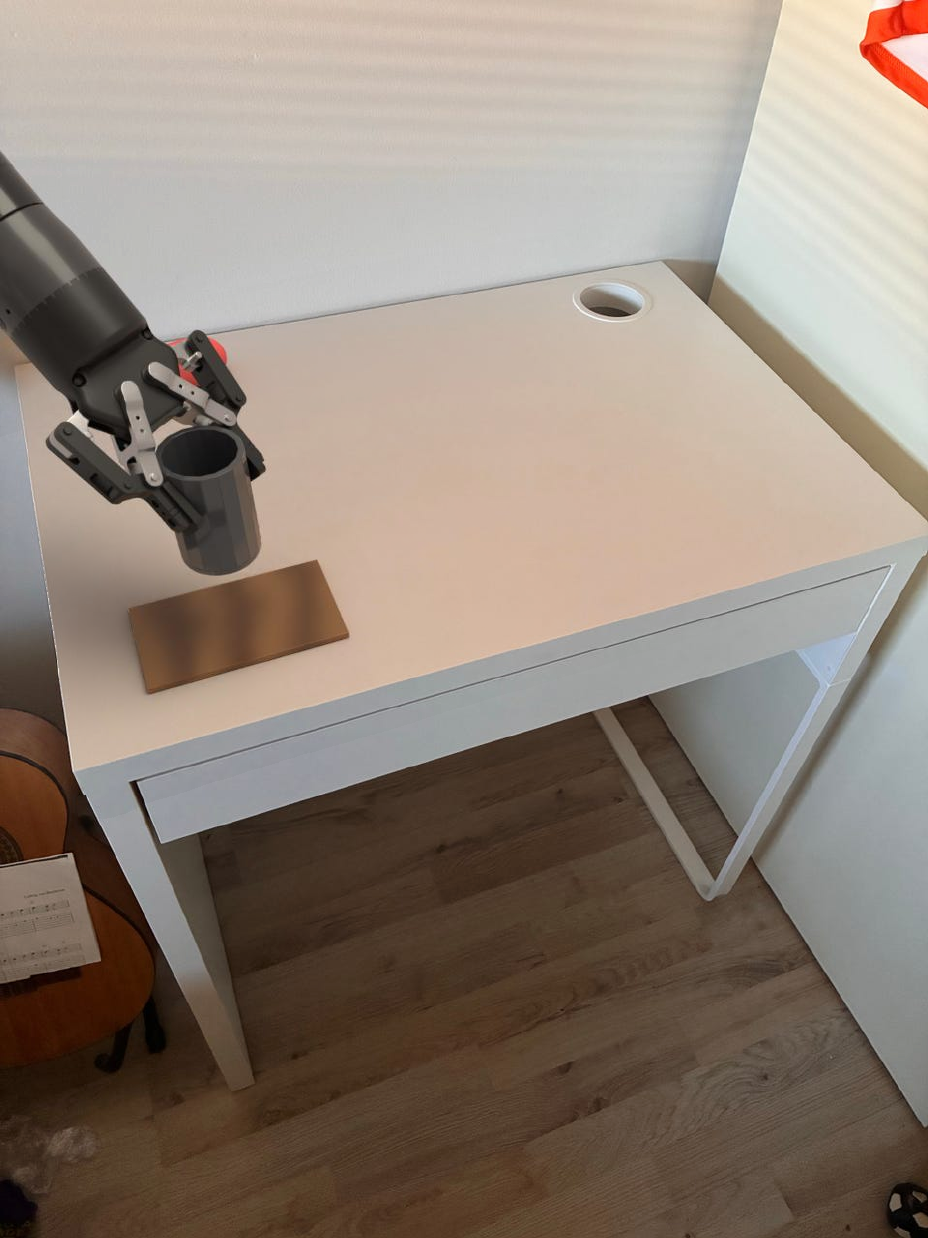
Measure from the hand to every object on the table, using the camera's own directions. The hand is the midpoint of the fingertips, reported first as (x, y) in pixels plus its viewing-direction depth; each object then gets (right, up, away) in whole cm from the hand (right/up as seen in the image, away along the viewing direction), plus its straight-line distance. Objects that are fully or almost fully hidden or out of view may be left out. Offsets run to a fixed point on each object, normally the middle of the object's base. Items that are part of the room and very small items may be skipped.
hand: (227, 501), depth 67 cm
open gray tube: (-2, -3, +4) cm, 6 cm away
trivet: (-2, -9, +11) cm, 14 cm away
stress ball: (-12, +16, +33) cm, 39 cm away
